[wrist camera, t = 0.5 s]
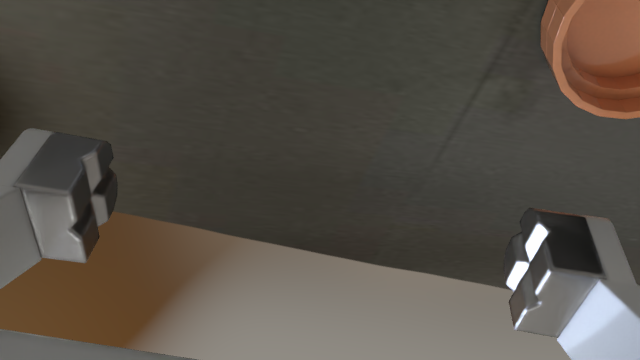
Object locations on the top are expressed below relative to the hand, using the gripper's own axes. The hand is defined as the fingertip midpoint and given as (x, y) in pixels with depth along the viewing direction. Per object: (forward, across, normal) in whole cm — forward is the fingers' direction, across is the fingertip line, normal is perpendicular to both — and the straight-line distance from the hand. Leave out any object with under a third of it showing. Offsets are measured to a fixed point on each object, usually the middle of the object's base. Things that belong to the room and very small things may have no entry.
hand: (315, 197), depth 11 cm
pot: (+47, -28, +14) cm, 57 cm away
